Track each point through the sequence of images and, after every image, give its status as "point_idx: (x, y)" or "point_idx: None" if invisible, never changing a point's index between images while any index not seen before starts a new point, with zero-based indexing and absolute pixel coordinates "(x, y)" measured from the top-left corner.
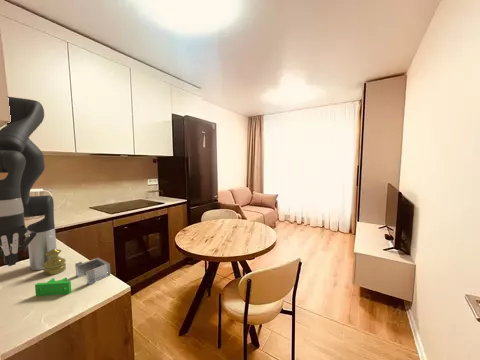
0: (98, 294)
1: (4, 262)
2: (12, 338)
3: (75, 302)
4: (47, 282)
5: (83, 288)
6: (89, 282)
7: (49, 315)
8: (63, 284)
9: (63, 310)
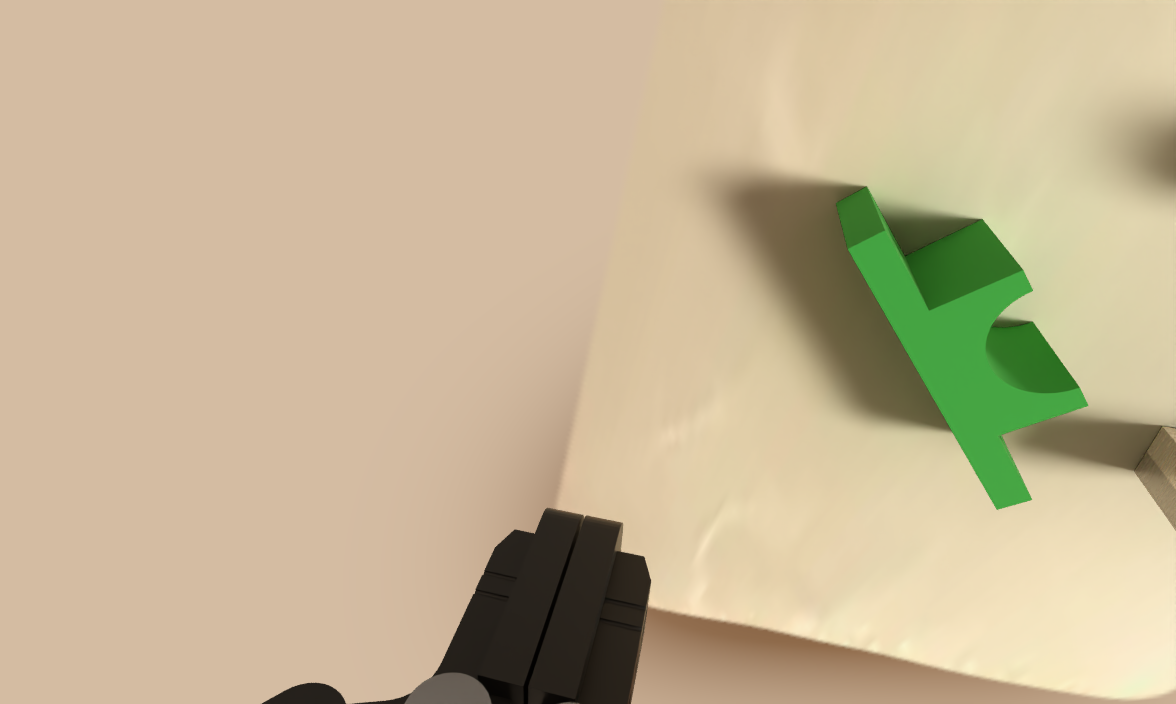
0: (1025, 620)
1: (491, 570)
2: None
3: (894, 561)
4: (932, 321)
5: (1072, 466)
6: (1152, 491)
7: (744, 536)
8: (972, 464)
9: (807, 564)
